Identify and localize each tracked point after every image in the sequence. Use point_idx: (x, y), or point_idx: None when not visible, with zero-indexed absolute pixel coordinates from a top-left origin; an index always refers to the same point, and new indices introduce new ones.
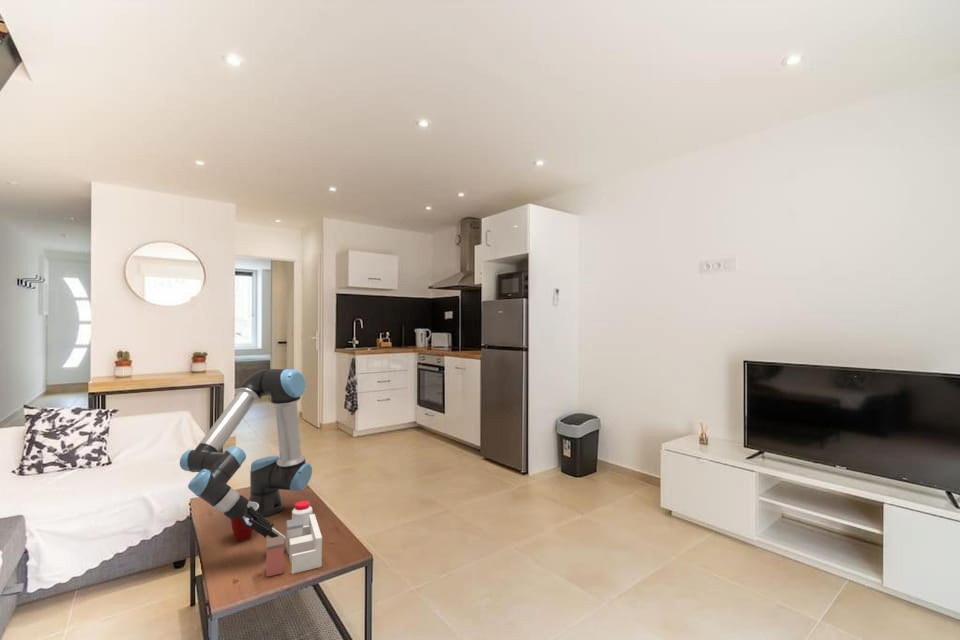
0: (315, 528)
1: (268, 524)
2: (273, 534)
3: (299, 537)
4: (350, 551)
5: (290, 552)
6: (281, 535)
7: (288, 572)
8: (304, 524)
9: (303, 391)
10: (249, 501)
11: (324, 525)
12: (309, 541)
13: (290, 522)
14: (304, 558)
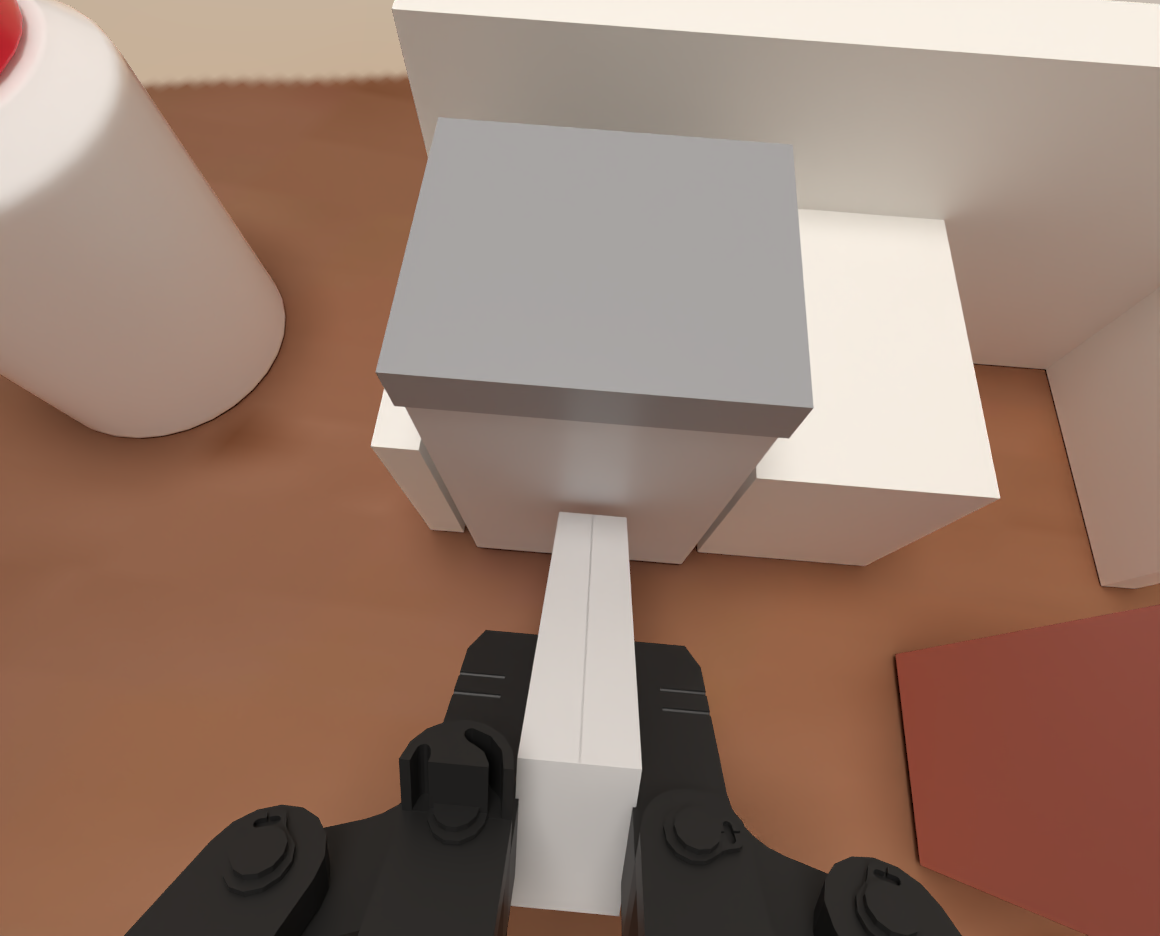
0: (1052, 33)
1: (449, 927)
2: (714, 751)
3: None
4: None
5: (929, 530)
6: (629, 578)
7: (1090, 615)
8: (224, 248)
9: None
10: None
11: (227, 150)
12: (944, 262)
13: (554, 315)
14: None
